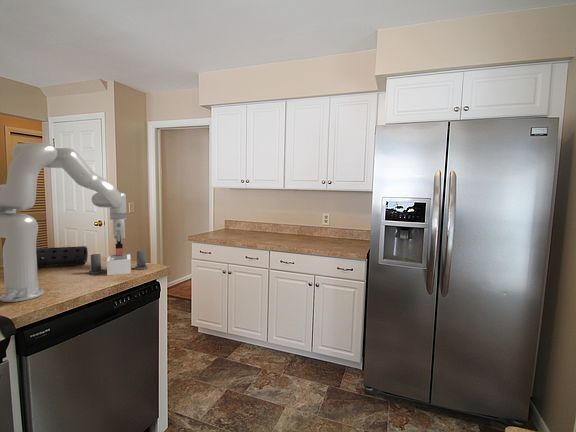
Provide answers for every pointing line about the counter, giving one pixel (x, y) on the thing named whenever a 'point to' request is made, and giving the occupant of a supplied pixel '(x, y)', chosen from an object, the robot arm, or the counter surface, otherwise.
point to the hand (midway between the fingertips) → (119, 251)
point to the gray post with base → (95, 264)
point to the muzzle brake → (61, 256)
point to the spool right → (141, 261)
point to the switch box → (118, 264)
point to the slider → (119, 252)
